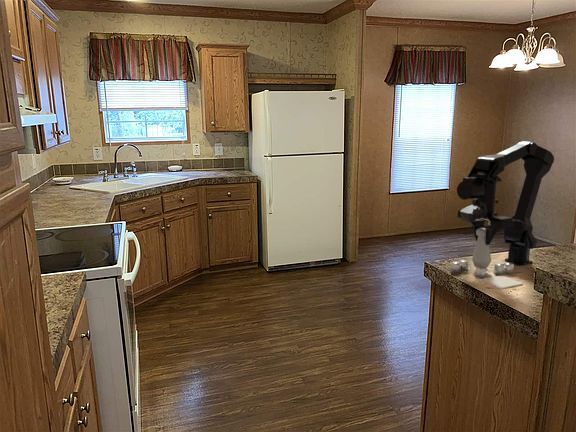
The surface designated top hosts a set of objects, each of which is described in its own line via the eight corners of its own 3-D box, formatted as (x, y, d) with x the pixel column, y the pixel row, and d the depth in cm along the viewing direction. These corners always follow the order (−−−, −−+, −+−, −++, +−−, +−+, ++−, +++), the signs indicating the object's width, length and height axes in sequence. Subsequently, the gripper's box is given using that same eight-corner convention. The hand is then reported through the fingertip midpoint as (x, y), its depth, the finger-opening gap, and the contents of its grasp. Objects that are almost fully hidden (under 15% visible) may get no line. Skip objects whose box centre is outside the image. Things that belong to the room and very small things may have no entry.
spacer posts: (488, 263, 159) (489, 254, 158) (515, 273, 149) (516, 264, 148) (447, 270, 153) (448, 261, 152) (472, 281, 142) (473, 272, 142)
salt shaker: (485, 263, 153) (488, 226, 151) (493, 269, 148) (496, 230, 145) (468, 264, 153) (471, 226, 150) (476, 269, 148) (478, 231, 145)
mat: (502, 276, 146) (502, 275, 146) (522, 284, 139) (523, 283, 139) (480, 280, 143) (480, 279, 143) (500, 289, 135) (500, 288, 135)
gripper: (445, 194, 151) (443, 239, 154) (489, 203, 134) (485, 254, 137) (472, 191, 155) (469, 235, 158) (517, 200, 138) (513, 249, 141)
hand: (482, 243), depth 149 cm, fingers closed on salt shaker, 4 cm apart
